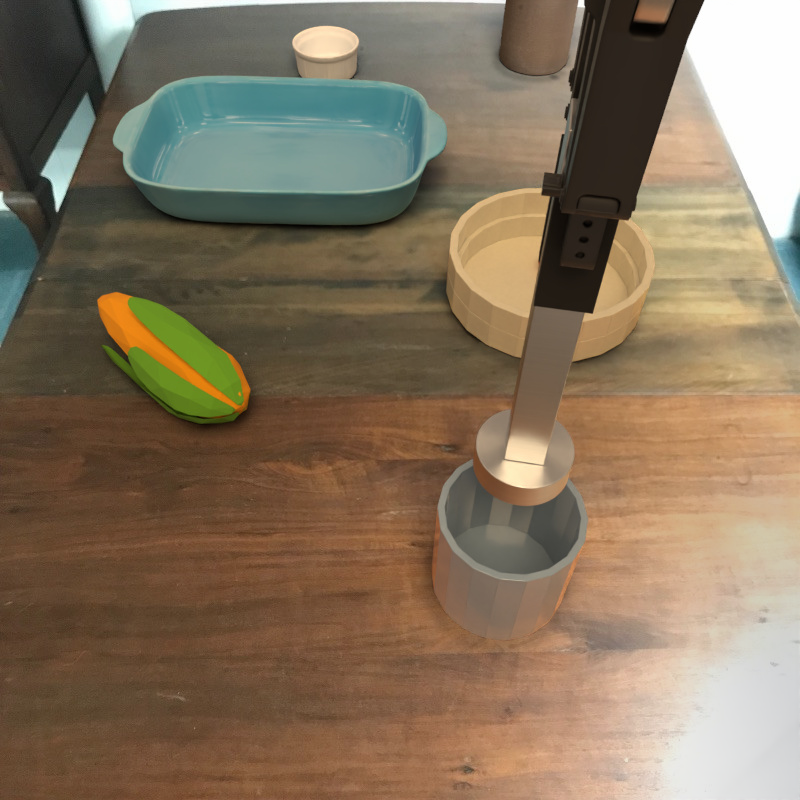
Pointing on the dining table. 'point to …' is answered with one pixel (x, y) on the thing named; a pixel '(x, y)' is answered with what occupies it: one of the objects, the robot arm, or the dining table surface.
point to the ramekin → (326, 52)
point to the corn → (174, 360)
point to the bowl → (517, 271)
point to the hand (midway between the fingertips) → (565, 280)
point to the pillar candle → (537, 35)
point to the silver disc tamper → (534, 404)
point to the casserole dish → (280, 149)
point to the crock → (503, 556)
